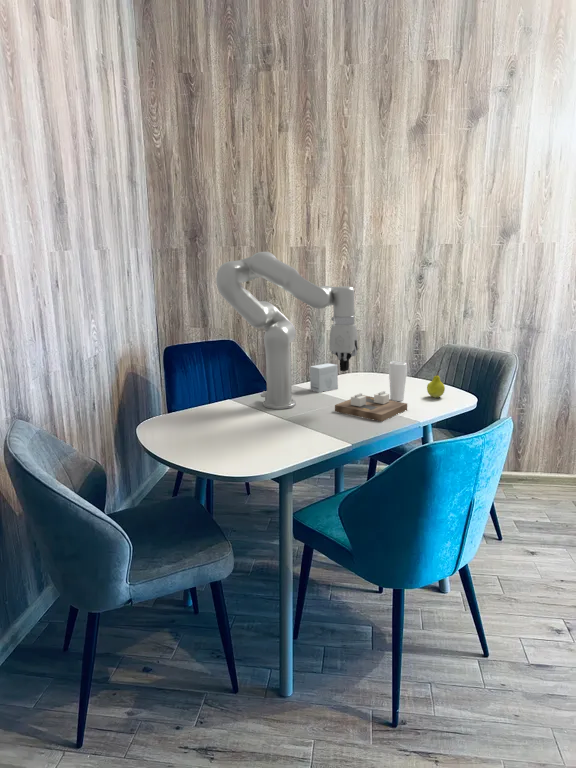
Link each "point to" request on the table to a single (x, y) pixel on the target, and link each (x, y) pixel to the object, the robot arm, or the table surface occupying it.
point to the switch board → (372, 409)
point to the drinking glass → (397, 380)
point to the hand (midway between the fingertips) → (344, 370)
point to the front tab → (358, 400)
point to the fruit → (436, 387)
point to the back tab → (381, 397)
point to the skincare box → (324, 377)
